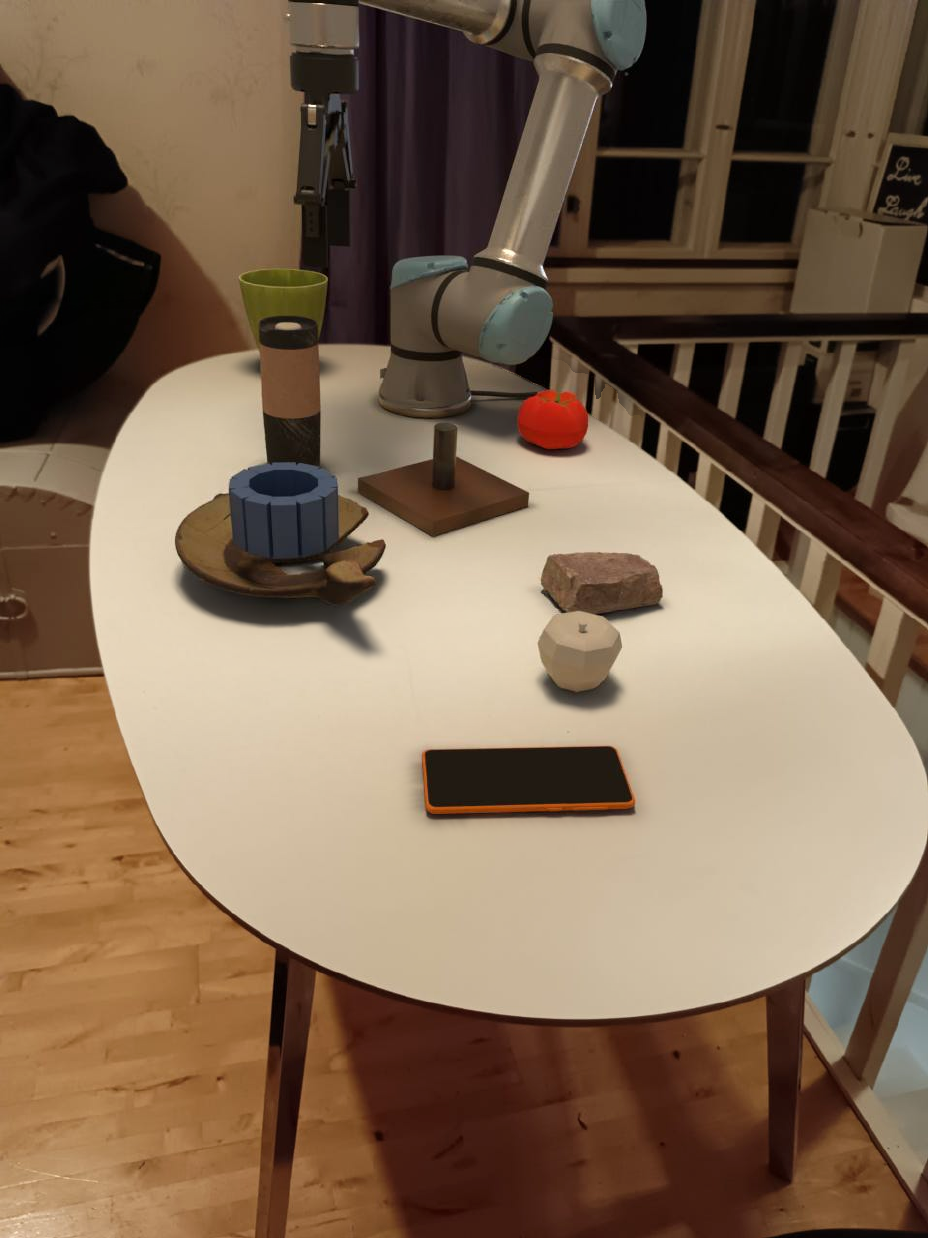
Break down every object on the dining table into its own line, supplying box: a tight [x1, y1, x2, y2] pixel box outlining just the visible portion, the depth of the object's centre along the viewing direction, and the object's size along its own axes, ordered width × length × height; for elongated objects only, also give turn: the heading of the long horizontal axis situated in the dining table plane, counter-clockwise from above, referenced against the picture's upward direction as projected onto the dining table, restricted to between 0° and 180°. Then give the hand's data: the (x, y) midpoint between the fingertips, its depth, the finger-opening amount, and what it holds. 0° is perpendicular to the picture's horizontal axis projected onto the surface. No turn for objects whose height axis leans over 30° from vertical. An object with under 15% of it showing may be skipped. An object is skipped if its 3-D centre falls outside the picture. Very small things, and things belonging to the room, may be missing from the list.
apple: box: [537, 611, 623, 693], centre depth 89 cm, size 8×8×7 cm
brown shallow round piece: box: [174, 492, 387, 606], centre depth 103 cm, size 22×30×8 cm
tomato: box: [516, 389, 589, 451], centre depth 144 cm, size 11×11×8 cm
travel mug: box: [258, 315, 322, 468], centre depth 126 cm, size 8×8×20 cm
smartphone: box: [421, 745, 636, 815], centre depth 78 cm, size 8×17×1 cm, turn 95°
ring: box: [228, 462, 339, 559], centre depth 100 cm, size 11×11×6 cm
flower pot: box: [238, 268, 329, 353], centre depth 166 cm, size 15×15×16 cm
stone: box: [540, 551, 664, 615], centre depth 104 cm, size 12×9×5 cm
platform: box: [357, 422, 530, 537], centre depth 123 cm, size 16×16×10 cm
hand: (328, 255), depth 115 cm, fingers open, 13 cm apart
